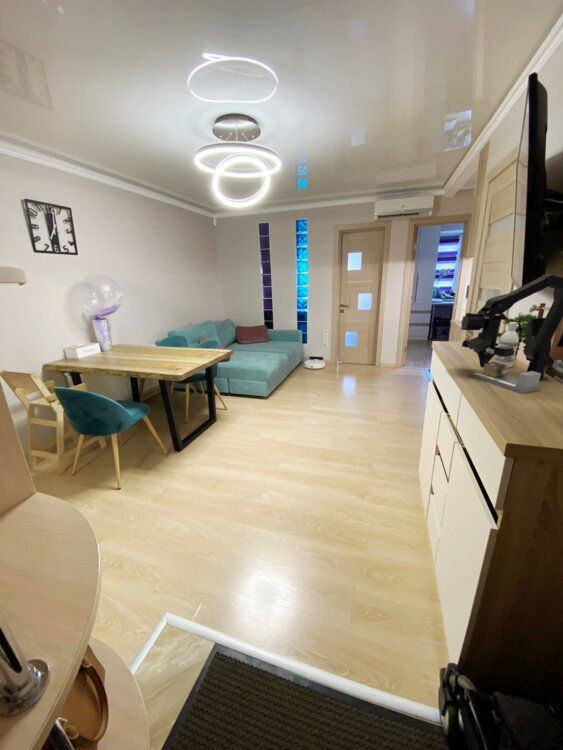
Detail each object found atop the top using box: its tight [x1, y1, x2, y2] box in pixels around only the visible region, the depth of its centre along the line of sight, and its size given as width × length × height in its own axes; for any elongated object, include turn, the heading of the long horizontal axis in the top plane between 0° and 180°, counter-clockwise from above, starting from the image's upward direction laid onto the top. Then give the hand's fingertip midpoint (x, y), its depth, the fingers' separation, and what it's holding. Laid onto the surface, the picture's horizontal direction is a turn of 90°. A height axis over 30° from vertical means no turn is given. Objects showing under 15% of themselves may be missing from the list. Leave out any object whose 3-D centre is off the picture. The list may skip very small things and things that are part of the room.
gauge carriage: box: [482, 361, 509, 378], centre depth 123 cm, size 7×8×5 cm
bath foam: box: [494, 321, 520, 369], centre depth 139 cm, size 7×7×20 cm
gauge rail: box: [472, 371, 542, 395], centre depth 120 cm, size 10×20×6 cm, turn 21°
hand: (482, 367), depth 129 cm, fingers closed
